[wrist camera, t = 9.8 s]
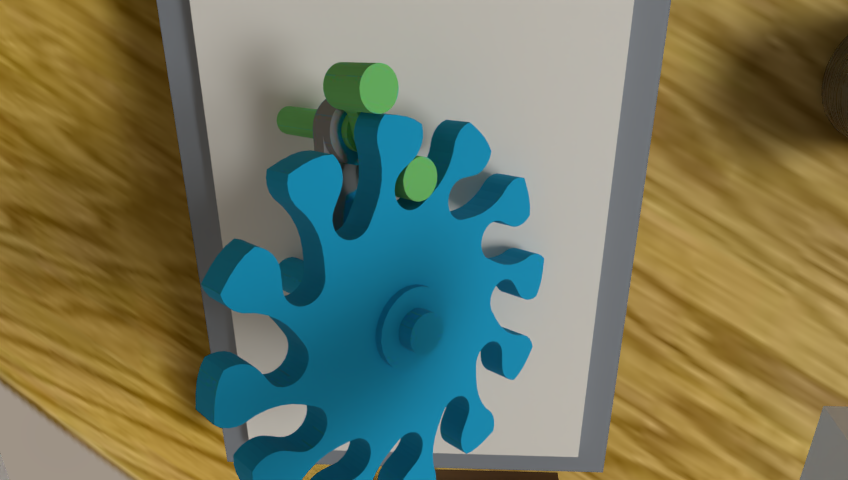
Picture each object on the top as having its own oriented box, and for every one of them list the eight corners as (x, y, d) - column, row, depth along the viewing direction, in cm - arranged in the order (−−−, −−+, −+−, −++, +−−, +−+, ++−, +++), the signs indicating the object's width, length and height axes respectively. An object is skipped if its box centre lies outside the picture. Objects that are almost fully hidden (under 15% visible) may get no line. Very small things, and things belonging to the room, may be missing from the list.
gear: (557, 435, 21) (256, 632, 14) (422, 370, 25) (144, 499, 19) (566, 49, 17) (181, 81, 11) (409, 48, 22) (66, 72, 15)
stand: (175, -114, 19) (131, -118, 16) (659, -114, 19) (693, -118, 16) (246, 414, 27) (224, 469, 24) (590, 423, 26) (604, 480, 24)
